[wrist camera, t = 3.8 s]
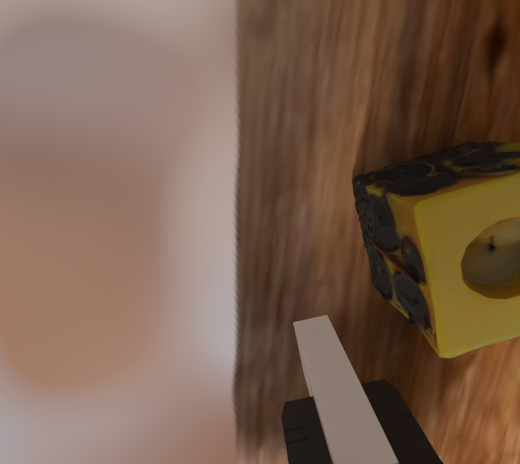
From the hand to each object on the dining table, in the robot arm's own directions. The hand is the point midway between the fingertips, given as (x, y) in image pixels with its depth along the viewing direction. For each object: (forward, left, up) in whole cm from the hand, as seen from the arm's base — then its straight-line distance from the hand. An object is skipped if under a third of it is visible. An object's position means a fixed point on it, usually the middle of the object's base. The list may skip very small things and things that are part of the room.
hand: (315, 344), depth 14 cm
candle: (+12, -2, -13) cm, 18 cm away
